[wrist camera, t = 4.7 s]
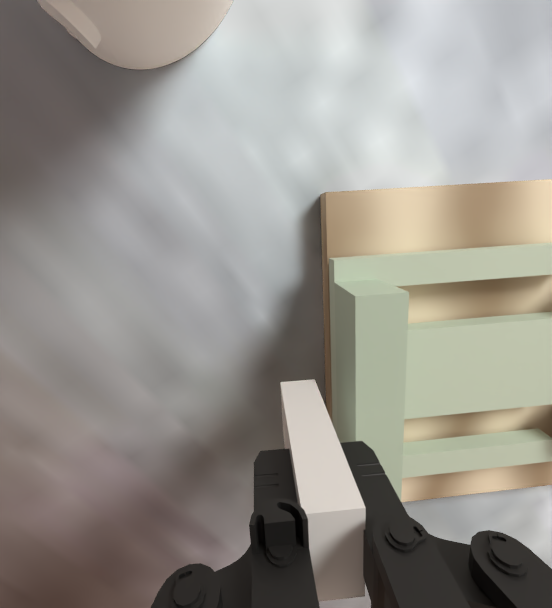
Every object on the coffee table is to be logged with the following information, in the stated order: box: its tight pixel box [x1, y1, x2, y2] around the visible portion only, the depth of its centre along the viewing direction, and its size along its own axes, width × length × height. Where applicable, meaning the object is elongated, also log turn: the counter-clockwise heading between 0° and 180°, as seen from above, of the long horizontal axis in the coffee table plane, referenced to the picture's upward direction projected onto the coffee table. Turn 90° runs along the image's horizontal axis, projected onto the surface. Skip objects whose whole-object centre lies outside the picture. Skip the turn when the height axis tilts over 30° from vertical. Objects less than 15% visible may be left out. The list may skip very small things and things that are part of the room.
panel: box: [329, 243, 552, 501], centre depth 15 cm, size 17×12×4 cm
